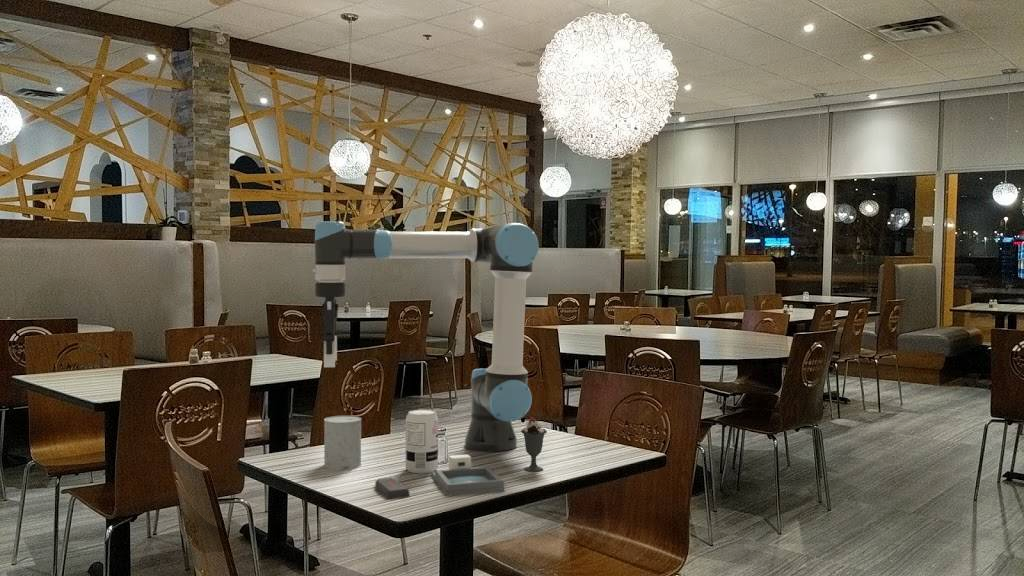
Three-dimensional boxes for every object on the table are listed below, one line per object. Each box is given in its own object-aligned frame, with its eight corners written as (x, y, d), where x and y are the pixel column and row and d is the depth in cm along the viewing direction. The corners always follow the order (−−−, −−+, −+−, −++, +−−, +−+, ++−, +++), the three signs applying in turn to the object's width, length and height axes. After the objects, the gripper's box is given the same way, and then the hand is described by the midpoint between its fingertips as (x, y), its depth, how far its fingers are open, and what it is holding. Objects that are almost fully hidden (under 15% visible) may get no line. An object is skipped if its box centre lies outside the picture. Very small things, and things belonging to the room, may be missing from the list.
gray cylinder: (352, 471, 207) (352, 423, 207) (317, 469, 209) (317, 421, 209) (366, 462, 217) (366, 416, 216) (333, 460, 219) (333, 414, 218)
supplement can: (401, 467, 211) (402, 410, 211) (432, 464, 215) (432, 408, 214) (410, 475, 204) (410, 416, 203) (442, 472, 207) (442, 413, 207)
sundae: (532, 464, 216) (533, 408, 215) (551, 469, 211) (552, 412, 210) (515, 469, 211) (515, 411, 211) (533, 474, 206) (534, 415, 206)
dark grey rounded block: (387, 502, 183) (387, 490, 183) (371, 488, 193) (371, 477, 193) (409, 499, 185) (409, 487, 185) (392, 486, 196) (392, 474, 196)
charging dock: (483, 472, 207) (484, 452, 207) (504, 491, 190) (504, 470, 190) (431, 476, 203) (431, 456, 203) (447, 496, 186) (447, 474, 186)
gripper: (318, 280, 221) (318, 358, 222) (312, 283, 197) (312, 370, 197) (346, 280, 222) (346, 357, 223) (343, 282, 198) (344, 369, 199)
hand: (330, 363), depth 210 cm, fingers open, 13 cm apart
